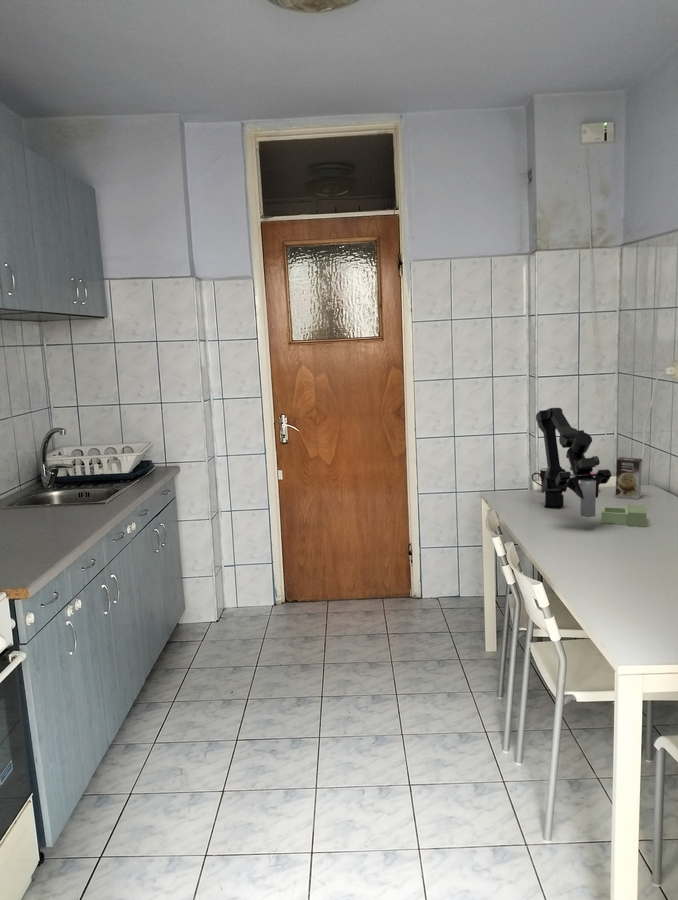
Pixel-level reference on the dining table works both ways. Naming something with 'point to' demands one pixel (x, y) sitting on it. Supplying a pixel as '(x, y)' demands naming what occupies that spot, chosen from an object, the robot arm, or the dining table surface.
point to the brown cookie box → (628, 478)
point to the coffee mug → (541, 474)
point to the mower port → (625, 515)
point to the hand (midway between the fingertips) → (589, 497)
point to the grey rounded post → (588, 497)
